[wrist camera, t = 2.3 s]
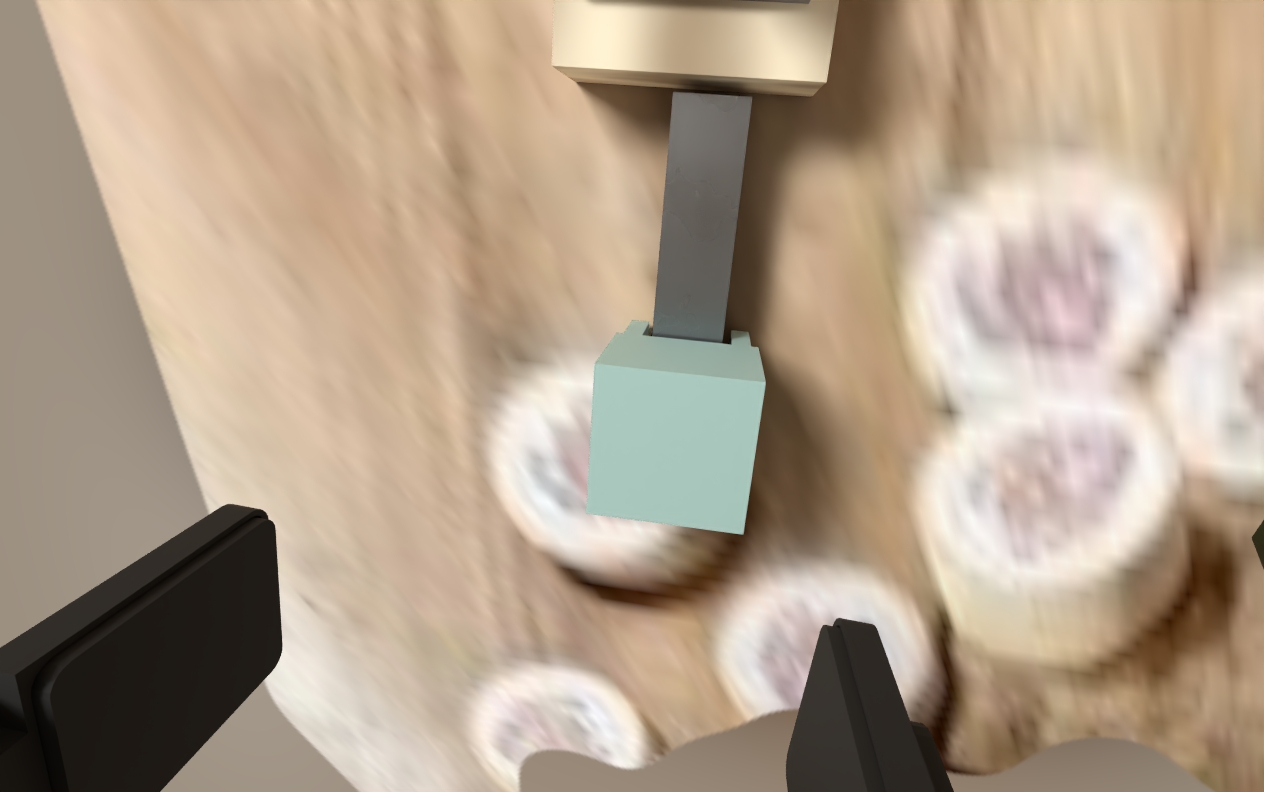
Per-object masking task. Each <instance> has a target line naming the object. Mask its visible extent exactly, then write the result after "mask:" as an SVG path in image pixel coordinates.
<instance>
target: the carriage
mask: <svg viewBox="0 0 1264 792" xmlns="http://www.w3.org/2000/svg"><path fill="white" fill-rule="evenodd" d="M648 333H649V322H646V321H636V320H632V322H631V323H630V325H629V326H628V328H627V329H626V331H625V332H624V333H616V334H615V336H614V337H613V339H612V340H611V341H610V343H609V344H608V346H607V347H606V348H605V350H604V351H603V353H602V354H601V355H600V357H599V358H598V360H597V361H596V362H595V366H594V383H593V401H592V419H591V437H590V454H589V472H588V490H587V507H586V514H594V515H601V516H609V517H616V518H623V519H631V520H638V521H646V522H653V523H661V524H668V525H676V526H683V527H691V528H698V529H705V530H713V531H720V532H728V533H735V534H743V533H744V526H745V519H746V513H747V506H748V499H749V493H750V486H751V479H752V472H753V466H754V459H755V452H756V445H757V439H758V432H759V425H760V419H761V412H762V405H763V398H764V392H765V385H766V381H765V376H764V371H763V367H762V362H761V357H760V353H759V348H758V347H751V343H750V337H749V332H745V331H735V330H731V335H730V343H729V344H722V343H712V342H702V341H693V340H683V339H673V338H664V337H654V336H648Z"/></svg>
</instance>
